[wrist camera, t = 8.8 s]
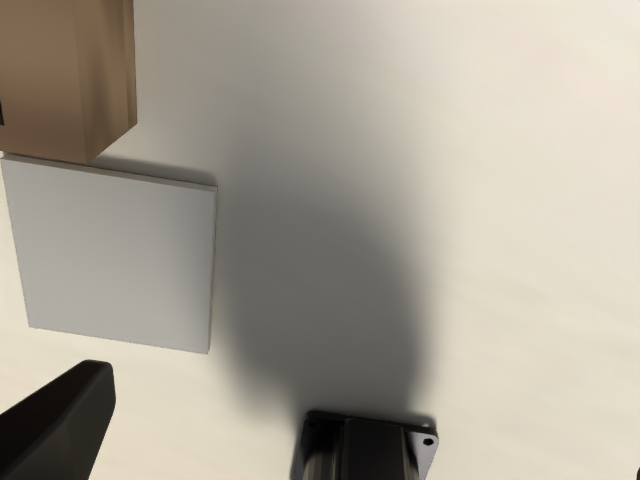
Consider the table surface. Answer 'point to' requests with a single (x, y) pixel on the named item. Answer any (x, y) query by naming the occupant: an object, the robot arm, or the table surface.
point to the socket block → (66, 77)
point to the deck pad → (113, 252)
